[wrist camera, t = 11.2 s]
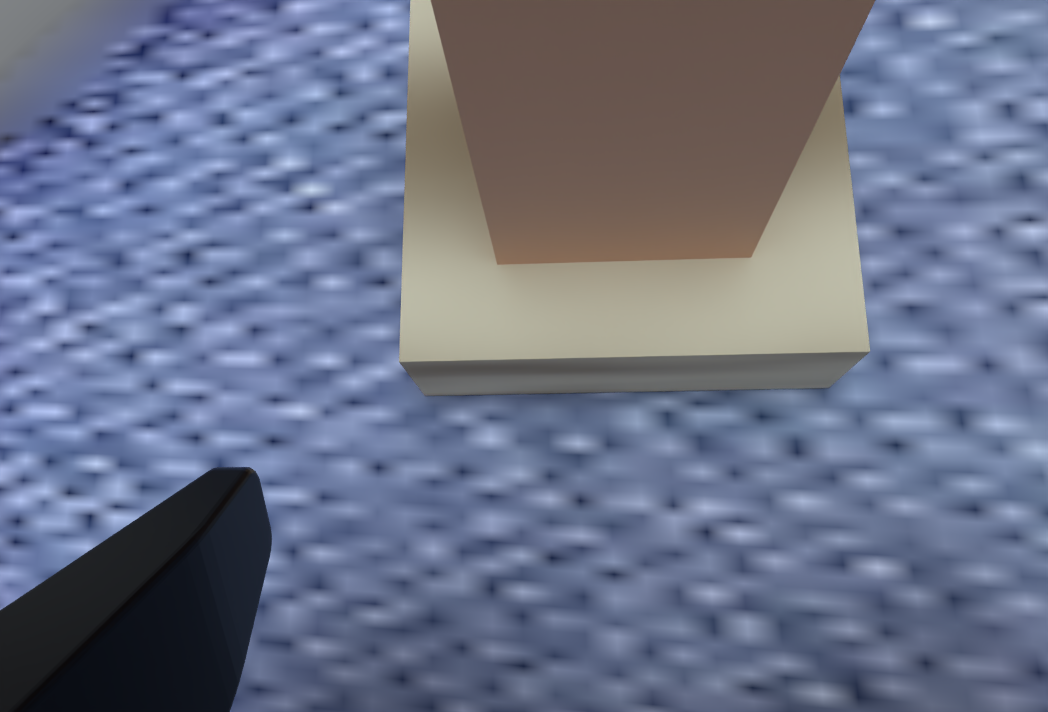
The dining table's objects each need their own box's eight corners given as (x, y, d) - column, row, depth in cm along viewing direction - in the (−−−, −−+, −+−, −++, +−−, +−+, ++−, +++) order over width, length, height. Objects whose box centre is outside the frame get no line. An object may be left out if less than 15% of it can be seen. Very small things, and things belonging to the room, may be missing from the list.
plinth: (828, 387, 20) (870, 351, 17) (425, 395, 21) (399, 362, 18) (794, 33, 23) (825, -52, 20) (433, 48, 23) (411, -32, 20)
